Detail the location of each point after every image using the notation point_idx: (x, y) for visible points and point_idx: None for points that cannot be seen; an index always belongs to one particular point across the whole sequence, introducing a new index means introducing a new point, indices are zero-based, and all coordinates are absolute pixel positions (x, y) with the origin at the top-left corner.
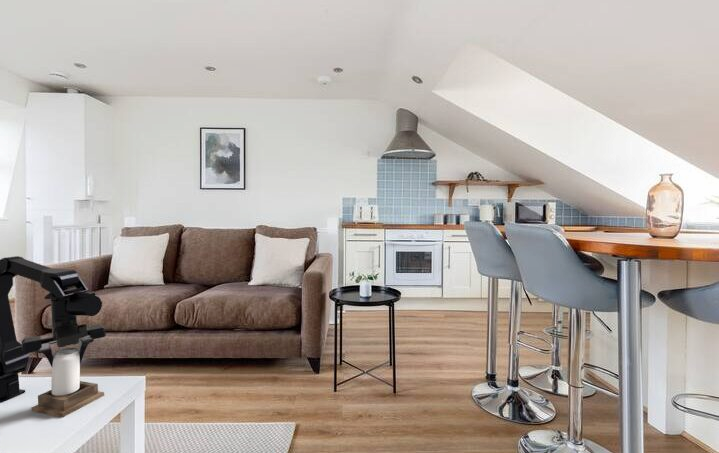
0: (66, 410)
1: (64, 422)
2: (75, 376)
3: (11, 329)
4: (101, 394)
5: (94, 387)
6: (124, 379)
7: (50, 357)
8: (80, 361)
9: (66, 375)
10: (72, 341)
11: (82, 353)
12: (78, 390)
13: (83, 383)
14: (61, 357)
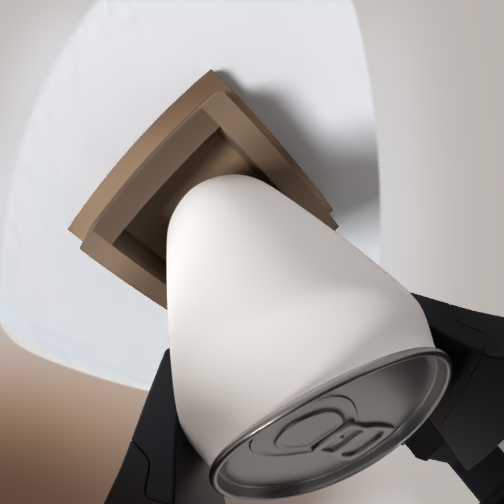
0: (200, 95)
1: (197, 21)
2: (182, 236)
3: (479, 483)
4: (76, 217)
5: (92, 227)
6: (48, 343)
7: (467, 326)
8: (166, 363)
9: (248, 209)
10: None
11: (147, 435)
12: None
13: (158, 285)
14: (395, 324)
